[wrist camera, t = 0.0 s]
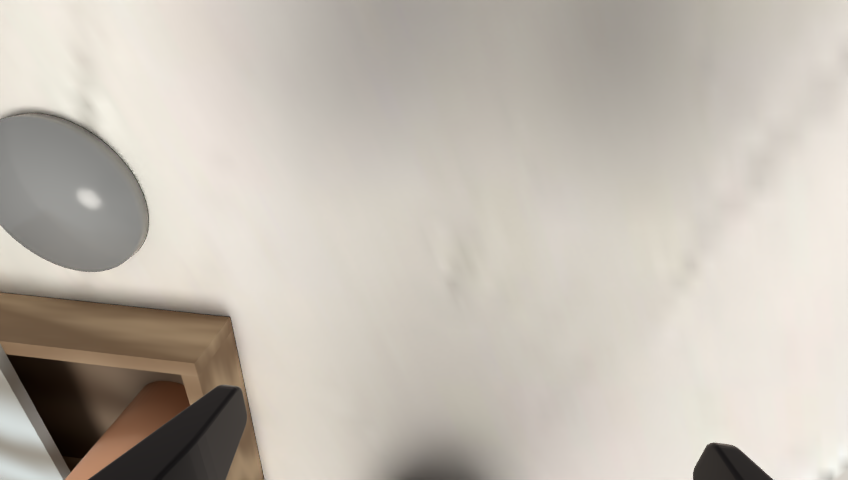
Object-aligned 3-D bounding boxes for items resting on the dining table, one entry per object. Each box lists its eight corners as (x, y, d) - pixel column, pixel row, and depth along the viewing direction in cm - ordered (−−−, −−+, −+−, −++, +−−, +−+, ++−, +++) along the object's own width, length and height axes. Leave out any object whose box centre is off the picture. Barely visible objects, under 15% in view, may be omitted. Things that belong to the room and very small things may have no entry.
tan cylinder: (222, 439, 33) (164, 541, 27) (150, 430, 33) (76, 528, 27) (208, 385, 30) (139, 485, 24) (130, 376, 30) (42, 471, 24)
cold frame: (264, 482, 36) (238, 544, 32) (6, 448, 37) (-50, 502, 33) (230, 317, 28) (188, 371, 24) (-100, 281, 29) (-191, 327, 25)
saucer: (165, 271, 26) (156, 279, 26) (24, 257, 27) (12, 264, 26) (122, 119, 22) (111, 123, 21) (-44, 106, 23) (-61, 110, 22)
